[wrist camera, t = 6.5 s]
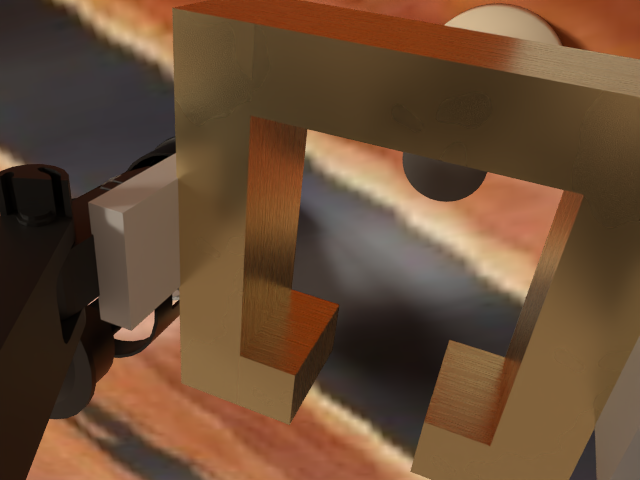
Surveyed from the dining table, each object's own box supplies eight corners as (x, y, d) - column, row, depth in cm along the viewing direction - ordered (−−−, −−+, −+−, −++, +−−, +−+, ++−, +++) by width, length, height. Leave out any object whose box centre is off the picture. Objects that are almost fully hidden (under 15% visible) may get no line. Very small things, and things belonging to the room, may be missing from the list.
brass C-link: (250, -9, 13) (171, 7, 10) (708, 71, 10) (748, 117, 8) (237, 317, 17) (181, 383, 15) (552, 425, 15) (546, 523, 12)
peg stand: (436, -8, 29) (355, 30, 18) (588, 16, 27) (596, 72, 16) (411, 130, 33) (330, 229, 22) (543, 159, 31) (525, 283, 20)
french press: (171, 97, 38) (-242, 268, 19) (292, 176, 37) (-9, 437, 18) (128, 228, 44) (-208, 454, 25) (230, 298, 43) (-37, 582, 25)
